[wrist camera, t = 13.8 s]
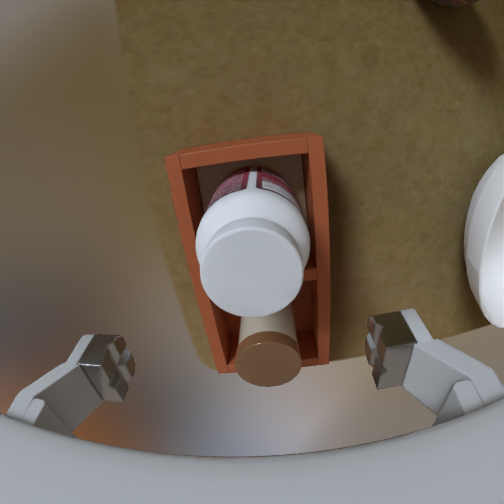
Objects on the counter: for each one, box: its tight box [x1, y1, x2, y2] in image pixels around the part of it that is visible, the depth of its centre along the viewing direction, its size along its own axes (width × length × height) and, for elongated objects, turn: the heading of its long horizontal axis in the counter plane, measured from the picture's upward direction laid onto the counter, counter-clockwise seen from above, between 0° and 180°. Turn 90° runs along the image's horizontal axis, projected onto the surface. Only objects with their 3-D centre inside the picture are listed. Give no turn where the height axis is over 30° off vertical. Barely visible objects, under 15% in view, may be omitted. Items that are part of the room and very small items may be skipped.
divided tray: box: [165, 132, 331, 373], centre depth 24 cm, size 10×19×5 cm, turn 8°
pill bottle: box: [195, 166, 310, 318], centre depth 19 cm, size 6×6×11 cm
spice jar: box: [235, 302, 302, 387], centre depth 24 cm, size 5×5×8 cm
